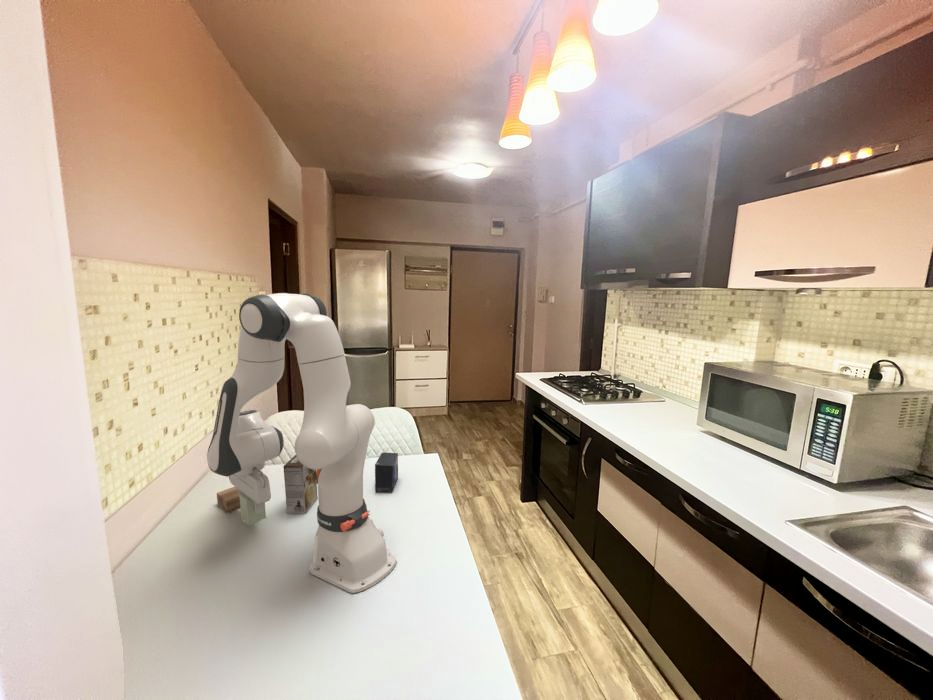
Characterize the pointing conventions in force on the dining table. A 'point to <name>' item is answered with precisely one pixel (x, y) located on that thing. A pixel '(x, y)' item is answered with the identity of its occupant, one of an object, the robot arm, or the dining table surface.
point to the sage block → (250, 510)
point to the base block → (229, 499)
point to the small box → (386, 472)
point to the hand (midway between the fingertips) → (250, 505)
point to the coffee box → (299, 486)
